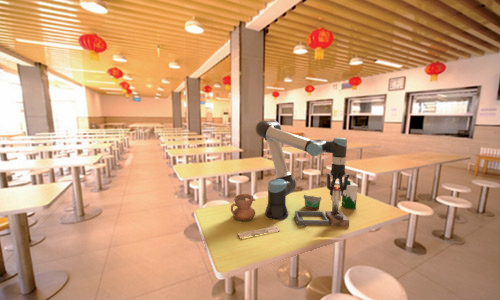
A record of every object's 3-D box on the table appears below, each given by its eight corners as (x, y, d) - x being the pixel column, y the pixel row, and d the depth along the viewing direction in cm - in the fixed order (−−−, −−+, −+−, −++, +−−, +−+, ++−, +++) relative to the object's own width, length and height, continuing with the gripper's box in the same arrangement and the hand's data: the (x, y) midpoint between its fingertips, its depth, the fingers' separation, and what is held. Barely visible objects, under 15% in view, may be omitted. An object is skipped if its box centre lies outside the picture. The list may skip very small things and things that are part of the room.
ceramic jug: (250, 210, 147) (249, 191, 145) (261, 218, 134) (260, 197, 132) (226, 216, 138) (225, 196, 136) (236, 226, 126) (235, 203, 124)
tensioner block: (331, 227, 123) (332, 217, 122) (325, 218, 135) (325, 208, 134) (348, 228, 123) (349, 217, 122) (340, 218, 135) (341, 208, 134)
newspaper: (274, 227, 125) (274, 224, 125) (280, 233, 118) (280, 230, 118) (237, 235, 116) (237, 232, 116) (241, 242, 110) (241, 239, 110)
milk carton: (339, 205, 155) (341, 179, 152) (352, 205, 155) (353, 179, 152) (344, 210, 147) (346, 182, 144) (357, 210, 147) (360, 182, 144)
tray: (298, 225, 125) (298, 220, 125) (294, 216, 138) (295, 211, 138) (329, 226, 125) (329, 221, 124) (322, 216, 138) (322, 211, 137)
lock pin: (333, 212, 129) (334, 188, 127) (331, 209, 132) (332, 186, 130) (338, 212, 129) (340, 188, 126) (336, 210, 132) (338, 186, 130)
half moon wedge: (301, 210, 147) (301, 196, 146) (303, 206, 153) (303, 193, 151) (319, 213, 142) (320, 199, 140) (321, 210, 147) (321, 196, 146)
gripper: (326, 164, 123) (324, 202, 126) (355, 165, 122) (352, 203, 126) (322, 161, 130) (320, 197, 134) (349, 162, 129) (346, 198, 133)
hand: (335, 200), depth 130 cm, fingers closed on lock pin, 4 cm apart
